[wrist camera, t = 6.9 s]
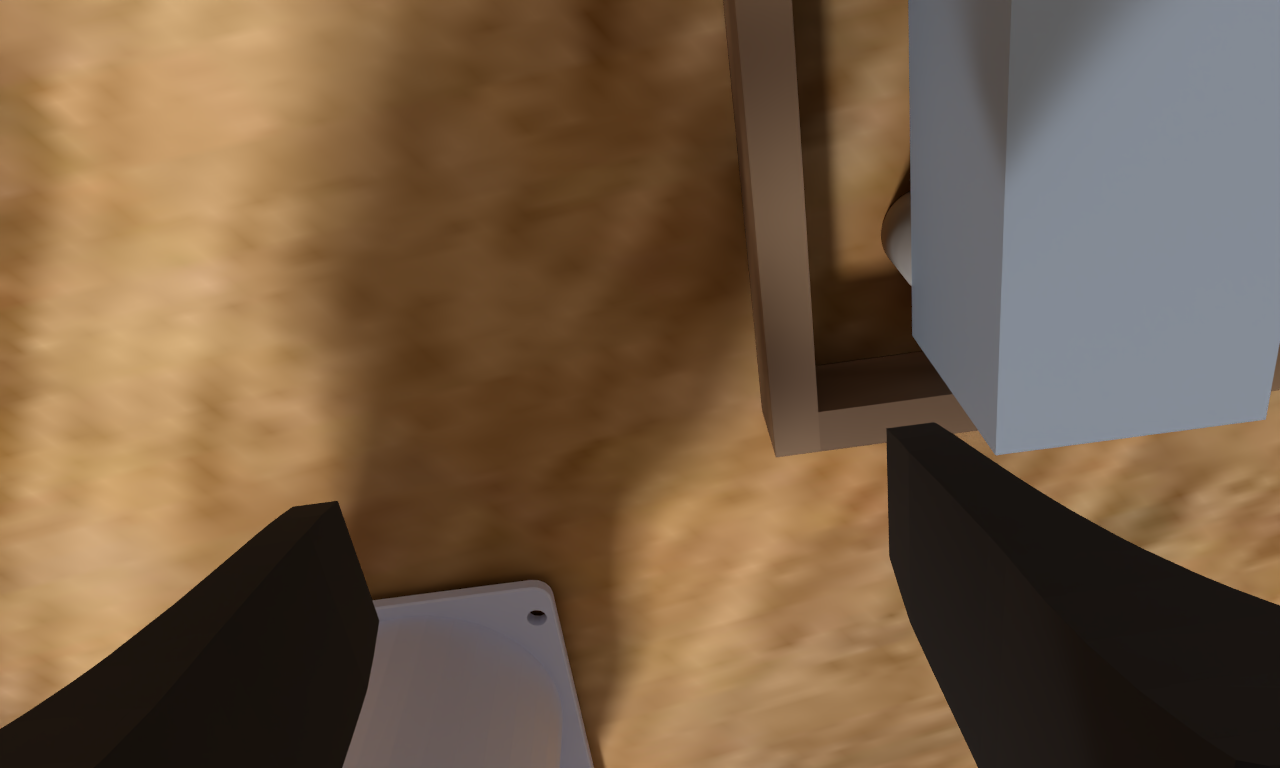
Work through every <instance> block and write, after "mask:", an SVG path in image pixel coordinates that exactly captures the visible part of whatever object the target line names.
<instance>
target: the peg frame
mask: <svg viewBox="0 0 1280 768" xmlns="http://www.w3.org/2000/svg"><path fill="white" fill-rule="evenodd" d="M723 3H724V14H725V24H726V35H727V45H728V56H729V66H730V77H731V87H732V98H733V108H734V119H735V129H736V140H737V151H738V161H739V172H740V182H741V193H742V203H743V214H744V224H745V235H746V245H747V256H748V266H749V277H750V287H751V298H752V308H753V319H754V329H755V340H756V350H757V361H758V372H759V382H760V393H761V403H762V411H763V415H764V418H765V422H766V425H767V428H768V432H769V435H770V439H771V442H772V446H773V449H774V452H775V456H776V457H782V456H790V455H797V454H805V453H812V452H819V451H827V450H834V449H842V448H849V447H857V446H864V445H872V444H879V443H887V434H886V428H893V427H901V426H908V425H916V424H924V423H931V422H935V423H937V424H938V425H940V426H942V427H943V428H945V429H946V430H948V431H949V432H951V433H952V434H954V433H962V432H969V431H977V430H978V429H977V428H976V426H975V425H974V424H973V422H972V421H971V419H970V418H969V416H968V415H967V414H966V412H965V411H964V409H963V408H962V406H961V405H960V403H959V402H958V401H957V399H956V398H955V396H954V395H953V393H952V392H951V391H950V389H949V388H948V386H947V385H946V383H945V382H944V381H943V379H942V378H941V376H940V375H939V373H938V372H937V370H936V369H935V368H934V366H933V365H932V363H931V362H930V360H929V359H928V358H927V356H926V355H925V353H924V352H923V351H921V352H914V353H907V354H900V355H892V356H885V357H878V358H871V359H863V360H856V361H849V362H841V363H834V364H827V365H820V366H815V354H814V338H813V322H812V307H811V291H810V276H809V260H808V244H807V229H806V213H805V197H804V182H803V166H802V151H801V135H800V119H799V104H798V88H797V73H796V57H795V41H794V26H793V10H792V0H723ZM881 239H882V245H883V248H884V251H885V253H886V255H887V256H888V258H889V259H890V260H891V261H892V263H893V264H894V265H895V266H896V268H897V269H898V270H899V272H900V273H901V274H902V275H903V277H904V278H905V279H906V280H907V282H908V283H909V284H910V285H911V286H912V266H911V191H909V192H908V193H906V194H904V195H903V196H902V197H900V198H899V199H898V200H897V201H896V202H895V203H894V204H893V205H892V207H891V208H890V209H889V211H888V213H887V214H886V216H885V219H884V222H883V225H882V230H881ZM1279 389H1280V344H1279V350H1278V355H1277V360H1276V366H1275V371H1274V377H1273V382H1272V388H1271V391H1276V390H1279Z"/></svg>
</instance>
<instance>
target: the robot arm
mask: <svg viewBox="0 0 1280 768" xmlns="http://www.w3.org/2000/svg"><path fill="white" fill-rule="evenodd" d="M886 434H887V476H888V518H889V557H890V560H891V563H892V566H893V570H894V573H895V576H896V579H897V583H898V586H899V589H900V593H901V596H902V599H903V602H904V605H905V608H906V611H907V614H908V617H909V620H910V623H911V625H912V627H913V630H914V632H915V634H916V636H917V638H918V641H919V643H920V645H921V647H922V649H923V651H924V654H925V656H926V658H927V660H928V662H929V664H930V666H931V669H932V671H933V673H934V675H935V677H936V679H937V681H938V683H939V686H940V688H941V690H942V692H943V694H944V696H945V698H946V700H947V703H948V705H949V707H950V709H951V711H952V713H953V715H954V717H955V719H956V722H957V724H958V726H959V728H960V730H961V732H962V734H963V736H964V738H965V741H966V743H967V745H968V747H969V749H970V751H971V753H972V755H973V758H974V760H975V762H976V764H977V766H978V768H1280V606H1279V605H1277V604H1274V603H1271V602H1268V601H1266V600H1263V599H1260V598H1258V597H1255V596H1252V595H1250V594H1247V593H1244V592H1241V591H1239V590H1236V589H1233V588H1231V587H1228V586H1226V585H1224V584H1221V583H1219V582H1216V581H1214V580H1211V579H1209V578H1206V577H1204V576H1202V575H1199V574H1197V573H1195V572H1192V571H1190V570H1188V569H1186V568H1184V567H1182V566H1179V565H1177V564H1175V563H1173V562H1171V561H1168V560H1166V559H1164V558H1162V557H1160V556H1157V555H1155V554H1153V553H1151V552H1149V551H1147V550H1144V549H1142V548H1140V547H1138V546H1136V545H1134V544H1132V543H1130V542H1128V541H1126V540H1124V539H1122V538H1120V537H1119V536H1117V535H1115V534H1113V533H1111V532H1109V531H1108V530H1106V529H1104V528H1102V527H1100V526H1098V525H1097V524H1095V523H1093V522H1091V521H1089V520H1088V519H1086V518H1084V517H1082V516H1080V515H1079V514H1077V513H1075V512H1073V511H1071V510H1070V509H1068V508H1066V507H1065V506H1063V505H1061V504H1060V503H1058V502H1056V501H1055V500H1053V499H1051V498H1050V497H1048V496H1046V495H1045V494H1043V493H1042V492H1040V491H1038V490H1037V489H1035V488H1033V487H1032V486H1030V485H1029V484H1027V483H1026V482H1024V481H1022V480H1021V479H1019V478H1018V477H1016V476H1015V475H1013V474H1012V473H1010V472H1009V471H1007V470H1006V469H1004V468H1003V467H1001V466H1000V465H998V464H997V463H995V462H994V461H992V460H991V459H989V458H988V457H986V456H985V455H983V454H982V453H980V452H979V451H977V450H976V449H974V448H973V447H971V446H970V445H968V444H967V443H966V442H964V441H963V440H961V439H960V438H958V437H957V436H955V435H954V434H952V433H951V432H949V431H948V430H946V429H945V428H943V427H942V426H940V425H938V424H937V423H935V422H931V423H924V424H916V425H908V426H901V427H893V428H886ZM534 610H539V611H542V612H544V613H545V614H543V615H541V616H537V615H533V614H531V613H530V612H531V611H534ZM0 768H594V766H593V761H592V757H591V753H590V749H589V744H588V740H587V736H586V731H585V727H584V723H583V719H582V714H581V710H580V706H579V702H578V697H577V693H576V689H575V685H574V680H573V676H572V672H571V668H570V663H569V659H568V655H567V650H566V646H565V642H564V638H563V633H562V629H561V625H560V621H559V616H558V612H557V608H556V604H555V599H554V595H553V592H552V590H551V588H550V586H548V585H547V584H546V583H545V582H542V581H539V580H526V581H518V582H511V583H503V584H495V585H488V586H480V587H472V588H464V589H457V590H449V591H441V592H433V593H426V594H418V595H410V596H403V597H395V598H387V599H379V600H372V598H371V595H370V592H369V589H368V586H367V584H366V581H365V578H364V575H363V572H362V569H361V566H360V564H359V561H358V558H357V555H356V552H355V549H354V546H353V543H352V541H351V538H350V535H349V532H348V529H347V526H346V523H345V520H344V518H343V515H342V512H341V509H340V506H339V503H338V501H333V502H325V503H318V504H310V505H303V506H295V507H292V508H290V509H289V510H288V511H286V512H285V513H283V514H282V515H280V516H279V517H278V518H277V519H275V520H274V521H273V522H271V523H270V524H269V525H268V526H266V527H265V528H264V529H263V530H262V531H260V532H259V533H258V534H257V535H255V536H254V537H253V538H252V539H251V540H250V541H248V542H247V543H246V544H245V545H244V546H242V547H241V548H240V549H239V550H238V551H237V552H235V553H234V554H233V555H232V556H231V557H230V558H228V559H227V560H226V561H225V562H224V563H223V564H221V565H220V566H219V567H218V568H217V569H215V570H214V571H213V572H212V573H211V574H210V575H208V576H207V577H206V578H205V579H204V580H202V581H201V582H200V583H199V584H198V585H196V586H195V587H194V588H193V589H192V590H191V591H189V592H188V593H187V594H186V595H185V596H183V597H182V598H181V599H180V600H179V601H177V602H176V603H175V604H174V605H173V606H171V607H170V608H169V609H167V610H166V611H165V612H164V613H162V614H161V615H160V616H159V617H157V618H156V619H155V620H154V621H152V622H151V623H150V624H148V625H147V626H146V627H145V628H143V629H142V630H141V631H140V632H138V633H137V634H136V635H134V636H133V637H132V638H131V639H129V640H128V641H127V642H126V643H124V644H123V645H122V646H120V647H119V648H118V649H117V650H115V651H114V652H113V653H112V654H110V655H109V656H108V657H106V658H105V659H103V660H102V661H101V662H99V663H98V664H97V665H95V666H94V667H93V668H91V669H90V670H88V671H87V672H86V673H84V674H83V675H81V676H80V677H79V678H77V679H76V680H74V681H73V682H71V683H70V684H69V685H67V686H66V687H64V688H63V689H61V690H60V691H58V692H57V693H55V694H54V695H52V696H51V697H49V698H48V699H46V700H45V701H43V702H42V703H40V704H39V705H37V706H36V707H34V708H33V709H31V710H30V711H28V712H27V713H25V714H24V715H22V716H20V717H19V718H17V719H16V720H14V721H13V722H11V723H9V724H8V725H6V726H4V727H3V728H1V729H0Z"/></svg>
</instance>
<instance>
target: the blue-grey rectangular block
mask: <svg viewBox="0 0 1280 768" xmlns="http://www.w3.org/2000/svg"><path fill="white" fill-rule="evenodd" d="M908 4H909V92H910V179H911V266H912V336H913V338H914V339H915V340H916V342H917V343H918V345H919V346H920V348H921V349H922V350H923V352H924V353H925V355H926V356H927V358H928V359H929V360H930V362H931V363H932V365H933V366H934V368H935V369H936V370H937V372H938V373H939V375H940V376H941V378H942V379H943V381H944V382H945V383H946V385H947V386H948V388H949V389H950V391H951V392H952V393H953V395H954V396H955V398H956V399H957V401H958V402H959V403H960V405H961V406H962V408H963V409H964V411H965V412H966V414H967V415H968V416H969V418H970V419H971V421H972V422H973V424H974V425H975V426H976V428H977V429H978V431H979V432H980V434H981V435H982V436H983V438H984V439H985V441H986V442H987V444H988V445H989V447H990V448H991V449H992V451H993V452H994V454H995V455H1001V454H1009V453H1016V452H1024V451H1031V450H1039V449H1046V448H1054V447H1061V446H1069V445H1077V444H1084V443H1092V442H1099V441H1107V440H1114V439H1122V438H1129V437H1137V436H1145V435H1152V434H1160V433H1167V432H1175V431H1182V430H1190V429H1197V428H1205V427H1213V426H1220V425H1228V424H1235V423H1243V422H1250V421H1258V420H1265V419H1266V415H1267V409H1268V404H1269V398H1270V393H1271V388H1272V382H1273V377H1274V371H1275V366H1276V360H1277V355H1278V350H1279V344H1280V0H908Z"/></svg>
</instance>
